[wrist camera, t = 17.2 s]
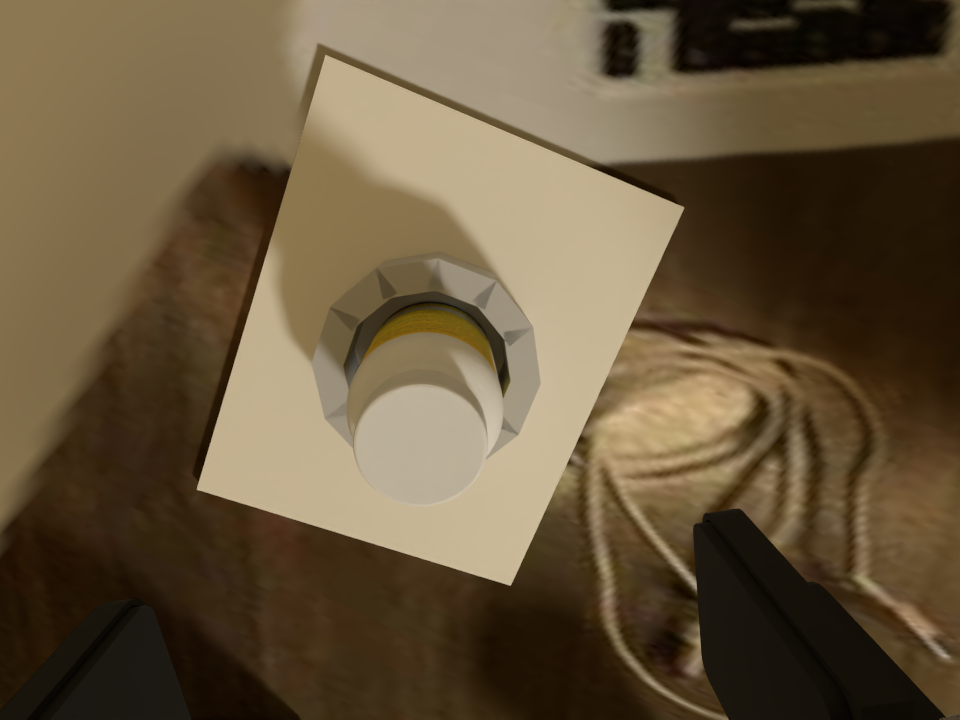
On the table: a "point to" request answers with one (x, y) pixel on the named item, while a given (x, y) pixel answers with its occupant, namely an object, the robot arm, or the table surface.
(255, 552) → the table surface
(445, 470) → the supplement bottle
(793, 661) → the robot arm
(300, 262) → the socket
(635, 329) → the table surface
